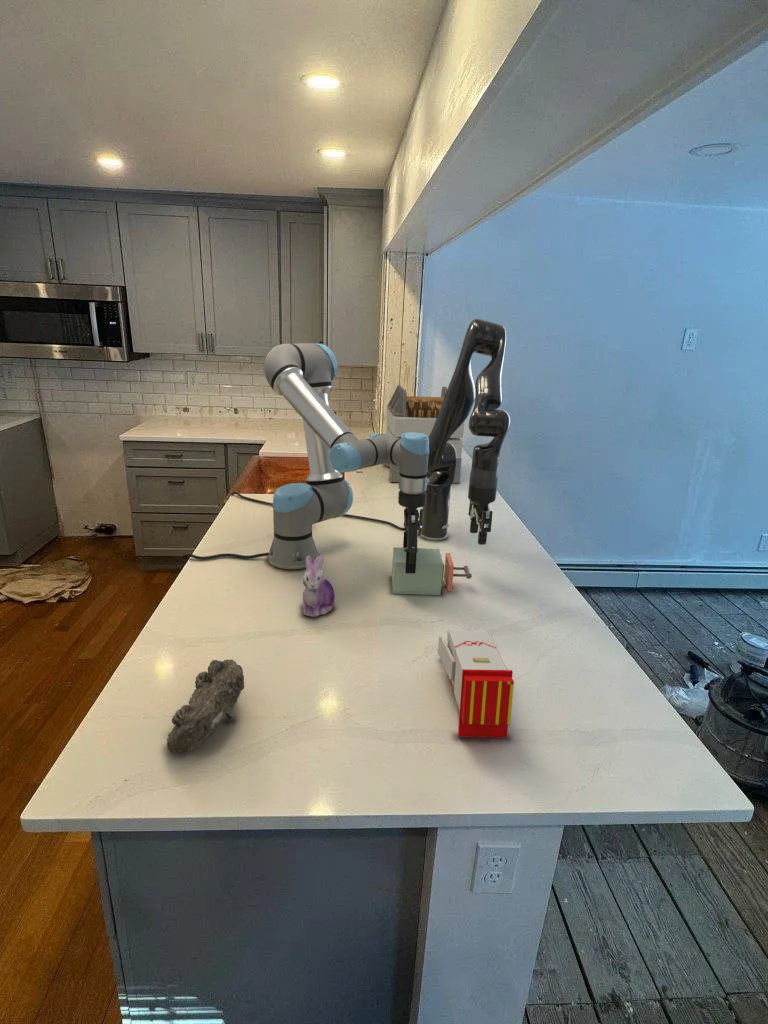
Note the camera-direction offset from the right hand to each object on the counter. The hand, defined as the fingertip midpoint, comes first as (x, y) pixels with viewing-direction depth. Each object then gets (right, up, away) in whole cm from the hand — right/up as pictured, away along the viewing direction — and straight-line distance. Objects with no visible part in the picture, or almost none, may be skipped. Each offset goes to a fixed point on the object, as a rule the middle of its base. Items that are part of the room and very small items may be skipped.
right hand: (477, 538), depth 160 cm
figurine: (-44, -18, -12) cm, 49 cm away
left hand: (-19, -7, 0) cm, 20 cm away
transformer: (-9, +26, +115) cm, 119 cm away
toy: (-8, -30, -41) cm, 52 cm away
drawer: (-11, -13, +3) cm, 17 cm away
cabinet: (-17, -14, +3) cm, 22 cm away
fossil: (-59, -32, -52) cm, 85 cm away
